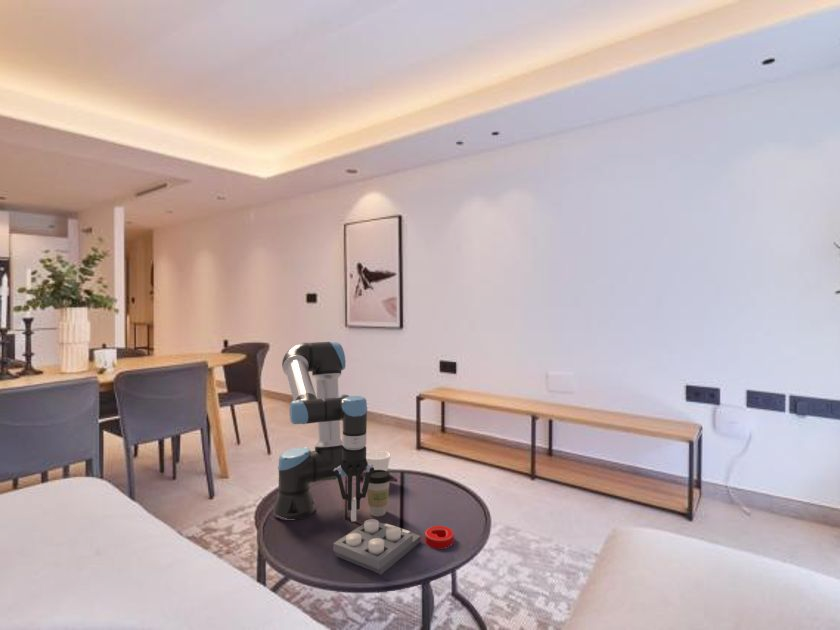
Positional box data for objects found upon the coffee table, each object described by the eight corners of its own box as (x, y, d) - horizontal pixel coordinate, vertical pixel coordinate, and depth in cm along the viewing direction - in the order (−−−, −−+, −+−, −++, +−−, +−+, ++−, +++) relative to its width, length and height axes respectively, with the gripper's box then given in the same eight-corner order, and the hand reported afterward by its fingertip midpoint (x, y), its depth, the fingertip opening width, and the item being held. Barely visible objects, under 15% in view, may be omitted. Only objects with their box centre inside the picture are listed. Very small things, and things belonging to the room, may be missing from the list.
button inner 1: (342, 547, 145) (342, 538, 144) (352, 540, 149) (352, 531, 149) (354, 552, 142) (354, 542, 142) (364, 545, 146) (364, 535, 146)
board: (333, 557, 144) (333, 543, 144) (378, 527, 163) (378, 514, 163) (378, 576, 134) (379, 561, 134) (420, 541, 154) (420, 528, 154)
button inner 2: (361, 532, 152) (361, 523, 152) (370, 526, 156) (370, 517, 156) (372, 536, 150) (372, 527, 149) (381, 530, 154) (381, 521, 154)
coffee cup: (386, 519, 169) (387, 479, 169) (361, 517, 171) (361, 477, 170) (393, 508, 179) (393, 470, 178) (369, 505, 181) (369, 468, 180)
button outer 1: (365, 553, 140) (365, 543, 140) (374, 546, 144) (374, 536, 144) (377, 557, 137) (377, 548, 137) (387, 550, 141) (387, 541, 141)
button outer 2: (382, 540, 147) (383, 531, 147) (391, 533, 151) (391, 524, 151) (395, 544, 145) (395, 535, 145) (403, 538, 149) (403, 528, 149)
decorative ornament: (457, 538, 157) (457, 528, 157) (448, 552, 148) (448, 542, 148) (431, 532, 161) (431, 523, 161) (420, 545, 152) (420, 536, 152)
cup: (380, 490, 196) (380, 461, 195) (358, 483, 202) (358, 456, 201) (395, 480, 206) (395, 453, 205) (374, 475, 212) (374, 448, 212)
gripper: (333, 451, 139) (333, 527, 140) (376, 449, 142) (375, 523, 143) (332, 443, 147) (332, 515, 148) (373, 441, 149) (372, 511, 151)
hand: (353, 519), depth 146 cm, fingers closed
